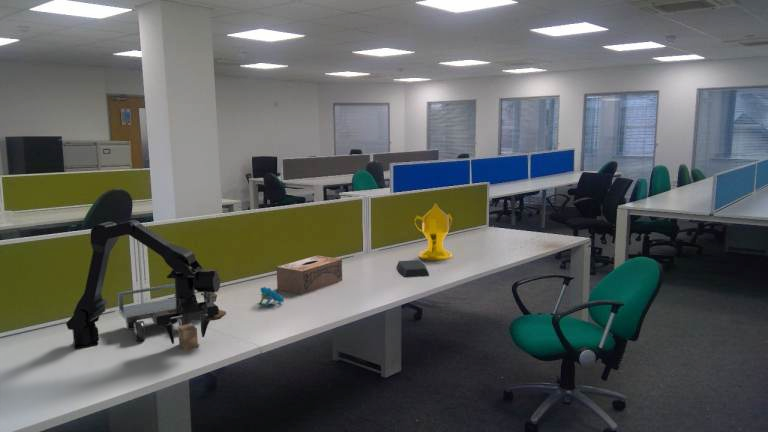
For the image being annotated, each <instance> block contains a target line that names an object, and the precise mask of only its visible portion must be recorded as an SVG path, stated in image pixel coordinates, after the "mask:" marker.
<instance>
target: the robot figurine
mask: <svg viewBox="0 0 768 432" xmlns="http://www.w3.org/2000/svg"><path fill="white" fill-rule="evenodd" d="M200 295H201V296H203V302H206V303H211V302H212V303H214V304H215V302H216V301H217V297H218V294H216V292H200ZM225 315H227V312H226V311H225V310H221V309H219V314H218V315H215V317H214V318H212V319H211V320H210V321H213V320H214V319H215V320H220V319H222V318H223V317H224V316H225ZM200 321H201V319H200Z"/></svg>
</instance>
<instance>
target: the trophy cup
mask: <svg viewBox="0 0 768 432" xmlns="http://www.w3.org/2000/svg"><path fill="white" fill-rule="evenodd" d="M417 220H420V221H422V225H421V228H422V229H421V228H419V227H418V225H417V223H416V221H417ZM413 222H414V225H415V227H416V229H418V231H420V232H421V233H423V235H424V236H425V238H426V240H427V247H426V248H425V249H423V250H420V252H419V253H418V257H419V258H420V259H423V260H427V261H440V260H441V261H442V260H448V259H451V258H452V256H453V251H450V250H449V249H446V248H445V246H444V239H445V237H446V236H447V235H448V233H449V230H450V229H451V226H452V222H453V217H452V216H451V214H450V213H448V214H447V213H445V212H444V211H443V210H442V209H441V208H439V206H438V203H434V204H433V206H432V208H431V209H429V210H428V211H427V212H426V213H424V215H423V216H420V215H416V216H415V218H414V220H413Z"/></svg>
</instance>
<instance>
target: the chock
mask: <svg viewBox="0 0 768 432" xmlns="http://www.w3.org/2000/svg"><path fill="white" fill-rule="evenodd" d="M177 329H178V331H177V332H178V344H179V346H180V347H182V349H183V351H189V350H192V349H196V348H199V342H198V328H197V327H195V325H193V324H192V323H191V324H186V325H181V326H179V325H178V327H177Z"/></svg>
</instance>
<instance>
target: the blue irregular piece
mask: <svg viewBox="0 0 768 432" xmlns="http://www.w3.org/2000/svg"><path fill="white" fill-rule="evenodd" d="M259 289H260V292H261V294H260V296H261V299H260V301H259V304H260V305H261V304H262V303H263V301H264V300H267V301H266V303H265V304H264V306H265V307H268V306H269V305H270V302H271V301H272V300H273V301H274V302H278V303H284V301H285V298H284V297H283V296H282V294H280V293H277V291H276V290H272V289H271V288H270V287H268V288H267V287H266V286H263V287H262V286H261V287H260V288H259Z"/></svg>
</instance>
